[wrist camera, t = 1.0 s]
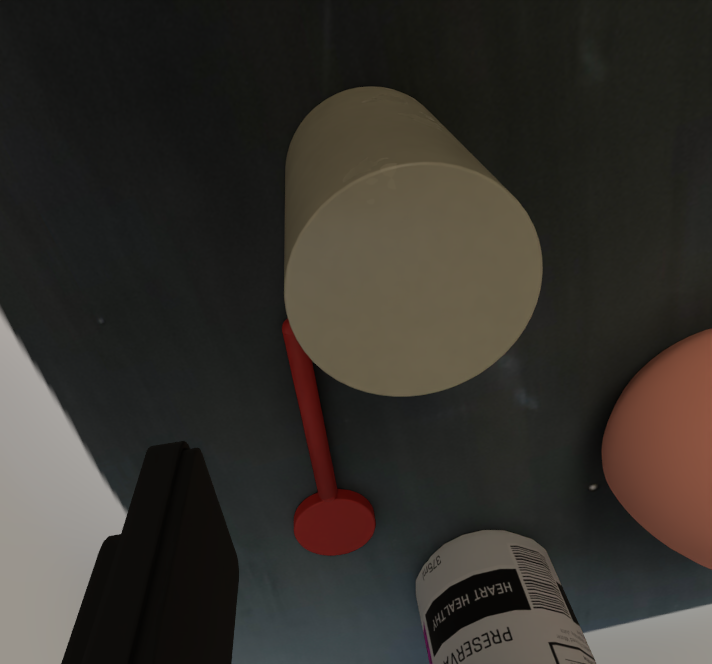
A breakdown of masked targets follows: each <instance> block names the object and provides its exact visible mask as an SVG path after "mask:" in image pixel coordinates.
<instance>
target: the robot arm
mask: <svg viewBox="0 0 712 664" xmlns="http://www.w3.org/2000/svg"><path fill="white" fill-rule="evenodd" d="M238 582H239V566H238V559H237V555H236V551H235V548H234V546H233V543H232V540H231V537H230V534H229V531H228V528H227V525H226V522H225V519H224V516H223V513H222V510H221V507H220V504H219V502H218V499H217V496H216V493H215V490H214V487H213V484H212V481H211V478H210V475H209V472H208V469H207V466H206V463H205V460H204V458H203V455H202V452H201V450H200V449H199V448H194V449H190V448H189V445H188V444H187V443H186V442H185V441H181V442H175V443H168V444H162V445H156V446H151V447H149V448H148V450H147V452H146V455H145V459H144V462H143V465H142V468H141V472H140V475H139V478H138V481H137V484H136V488H135V491H134V494H133V497H132V501H131V504H130V507H129V510H128V514H127V517H126V520H125V524H124V527H123V530H122V533H121V534H119V535H114V536H109V537H108V538H107V539H106V540H105V541H104V542H103V544H102V546H101V549H100V551H99V554H98V557H97V560H96V563H95V566H94V569H93V571H92V574H91V577H90V581H89V583H88V586H87V589H86V592H85V595H84V599H83V601H82V604H81V607H80V610H79V613H78V616H77V619H76V622H75V625H74V628H73V631H72V634H71V637H70V640H69V643H68V646H67V649H66V652H65V654H64V658H63V660H62V663H61V664H231V661H232V650H233V638H234V627H235V616H236V604H237V593H238Z"/></svg>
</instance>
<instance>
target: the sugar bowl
mask: <svg viewBox="0 0 712 664" xmlns="http://www.w3.org/2000/svg"><path fill="white" fill-rule="evenodd" d="M601 453H602V465H603V471H604V475H605V478H606V481H607V483H608V485H609V487H610V489H611V491H612V492H613V493H614V495H615V496H616V498H617V499H618V501H619V502H620V503H621V505H622V506H623V507H624V508H625V509H626V511H627V512H628V513H629V514H630V515H631V516H632V517H633V518H634V519H635V520H636V521H637V522H638V523H639V524H640V525H641V526H643V527H644V528H645V529H646V530H647V531H648V532H649V533H650V534H652V535H653V536H654V537H655V538H657V539H658V540H659V541H661V542H662V543H664V544H665V545H666V546H668V547H669V548H671V549H673V550H674V551H676V552H678V553H680V554H682V555H683V556H685V557H687V558H689V559H691V560H692V561H694V562H696V563H698V564H700V565H702V566H704V567H707V568H709V569H711V570H712V328H711V329H707V330H704V331H701V332H699V333H696V334H694V335H691V336H689V337H687V338H685V339H683V340H681V341H679V342H677V343H675V344H674V345H672V346H670V347H669V348H667V349H665V350H664V351H662V352H661V353H660V354H658V355H657V356H656V357H654V358H653V359H652V360H650V361H649V362H648V363H647V364H646V365H645V366H644V367H643V368H641V369H640V370H639V372H638V373H637V374H636V375H635V376H634V377H633V378H632V379H631V381H630V382H629V383H628V385H627V386H626V387H625V388H624V390H623V391H622V394H621V395H620V397H619V399H618V400H617V402H616V404H615V406H614V408H613V411H612V413H611V415H610V418H609V420H608V422H607V426H606V429H605V433H604V436H603V441H602V450H601Z"/></svg>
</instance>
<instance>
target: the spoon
mask: <svg viewBox="0 0 712 664" xmlns="http://www.w3.org/2000/svg"><path fill="white" fill-rule="evenodd" d="M282 332H283V336H284V341H285V345H286V350H287V354H288V359H289V363H290V368H291V373H292V377H293V382H294V386H295V391H296V395H297V400H298V404H299V409H300V413H301V418H302V422H303V427H304V431H305V436H306V440H307V445H308V449H309V454H310V458H311V463H312V467H313V472H314V476H315V481H316V485H317V490H318V492H317V493H315V494H313V495H311V496H309V497H308V498H306V499H305V500H304V501H303V502H302V503H301V504H300V505H299V506H298V508H297V510H296V512H295V515H294V534H295V537H296V539H297V541H298V542H299V543H300V545H302V546H303V547H304V548H305V549H307V550H309V551H311V552H313V553H316V554H320V555H330V556H331V555H342V554H346V553H350V552H352V551H355V550H357V549H359V548H360V547H362V546H363V545H364V544H366V543H367V542H368V541H369V540H370V538H371V537H372V535H373V533H374V530H375V526H376V522H375V515H374V510H373V507H372V505H371V504H370V502H369V501H368V500H367V499H366V498H365V497H364V496H362V495H360V494H359V493H356V492H354V491H351V490H346V489H337V485H336V480H335V475H334V470H333V465H332V460H331V455H330V450H329V445H328V440H327V435H326V430H325V425H324V419H323V414H322V409H321V404H320V399H319V394H318V389H317V384H316V379H315V374H314V369H313V364H312V360H311V359H310V358H309V356H308V355H307V354H306V353H305V352H304V350H303V349H302V347H301V346H300V344H299V343H298V341H297V340H296V337H295V335H294V333H293V331H292V329H291V327H290V323H289V320H288V318H287V319H286V320H285V321H284V323H283V325H282Z"/></svg>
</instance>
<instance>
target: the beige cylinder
mask: <svg viewBox="0 0 712 664" xmlns="http://www.w3.org/2000/svg"><path fill="white" fill-rule="evenodd" d="M542 273H543V269H542V253H541V247H540V242H539V239H538V236H537V233H536V230H535V227H534V225H533V223H532V221H531V219H530V217H529V216H528V214H527V212H526V211H525V209H524V208H523V207H522V205H521V204H520V203H519V201H518V200H517V199H516V198H515V197H514V196H513V195H512V194H511V193H510V192H509V191H508V190H507V189H506V188H505V187H504V186H503V185H502V184H501V183H500V182H499V181H498V180H497V179H496V178H495V177H494V176H493V175H492V174H491V173H490V172H489V171H488V170H487V169H486V168H485V167H484V166H483V165H482V164H481V163H480V162H479V161H478V160H477V159H476V158H475V157H474V156H473V155H472V154H471V153H470V152H469V151H468V150H467V149H466V148H465V147H464V146H463V145H462V144H461V143H460V142H459V141H458V140H457V139H456V138H455V137H454V136H453V135H452V134H451V133H450V132H449V131H448V130H447V129H446V128H445V127H444V126H443V125H442V124H441V123H440V122H439V121H438V120H437V119H436V118H435V117H434V116H433V115H432V114H431V113H430V112H429V111H428V110H427V109H426V108H425V107H424V106H423V105H422V104H420V103H419V102H418V101H416V100H415V99H414V98H412V97H410V96H408V95H406V94H404V93H402V92H399V91H396V90H393V89H389V88H384V87H372V86H369V87H358V88H353V89H349V90H345V91H343V92H340V93H337V94H335V95H333V96H331V97H330V98H328V99H326V100H324V101H323V102H322V103H320V104H319V105H318V106H316V107H315V108H314V109H313V110H312V111H311V112H310V113H309V114H308V115H307V116H306V117H305V119H304V120H303V121H302V122H301V124H300V125H299V127H298V129H297V130H296V132H295V134H294V136H293V138H292V141H291V143H290V146H289V149H288V153H287V158H286V165H285V255H284V300H285V307H286V313H287V317H288V320H289V323H290V327H291V329H292V331H293V333H294V335H295V337H296V340H297V341H298V343H299V344H300V346H301V347H302V349H303V350H304V352H305V353H306V354H307V355H308V356H309V358H310V359H311V360H312V361H313V362H314V363H315V364H316V365H317V366H318V367H320V368H321V369H322V370H323V371H324V372H325V373H327V374H328V375H330V376H331V377H333V378H334V379H336V380H337V381H339V382H341V383H344V384H346V385H348V386H350V387H352V388H355V389H358V390H361V391H364V392H368V393H372V394H377V395H384V396H393V397H409V396H418V395H426V394H430V393H435V392H439V391H442V390H445V389H448V388H452V387H454V386H457V385H459V384H461V383H463V382H466V381H468V380H469V379H471V378H473V377H475V376H477V375H478V374H480V373H482V372H483V371H484V370H486V369H487V368H489V367H490V366H491V365H493V364H494V363H495V362H496V361H497V360H498V359H500V358H501V357H502V356H503V355H504V354H505V353H506V352H507V351H508V350H509V349H510V348H511V346H512V345H513V344H514V343H515V342H516V340H517V339H518V338H519V336H520V335H521V333H522V332H523V331H524V329H525V327H526V325H527V324H528V322H529V320H530V318H531V316H532V314H533V311H534V309H535V306H536V304H537V301H538V297H539V293H540V289H541V281H542Z"/></svg>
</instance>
